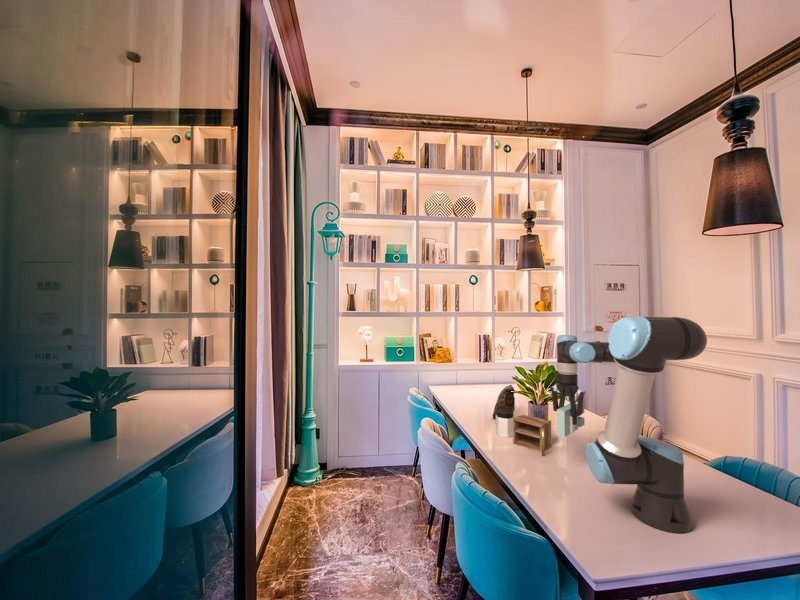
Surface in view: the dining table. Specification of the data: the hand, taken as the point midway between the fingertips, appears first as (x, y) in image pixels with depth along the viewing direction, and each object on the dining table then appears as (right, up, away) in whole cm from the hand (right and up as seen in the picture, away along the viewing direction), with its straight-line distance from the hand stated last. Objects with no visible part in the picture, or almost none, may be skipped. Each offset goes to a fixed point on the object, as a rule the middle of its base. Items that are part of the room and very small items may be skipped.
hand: (567, 430), depth 141 cm
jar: (-14, -16, +37) cm, 43 cm away
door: (+2, -1, +2) cm, 3 cm away
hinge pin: (-5, -15, +11) cm, 20 cm away
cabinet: (-6, -16, +24) cm, 29 cm away
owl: (-8, -17, +62) cm, 65 cm away
